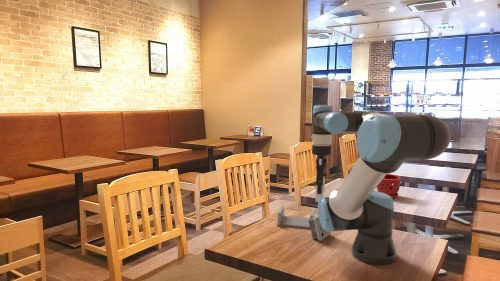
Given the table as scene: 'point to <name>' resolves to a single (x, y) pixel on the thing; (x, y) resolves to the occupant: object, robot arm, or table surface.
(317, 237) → the electrical switch
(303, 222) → the housing
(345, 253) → the table surface
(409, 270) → the table surface
